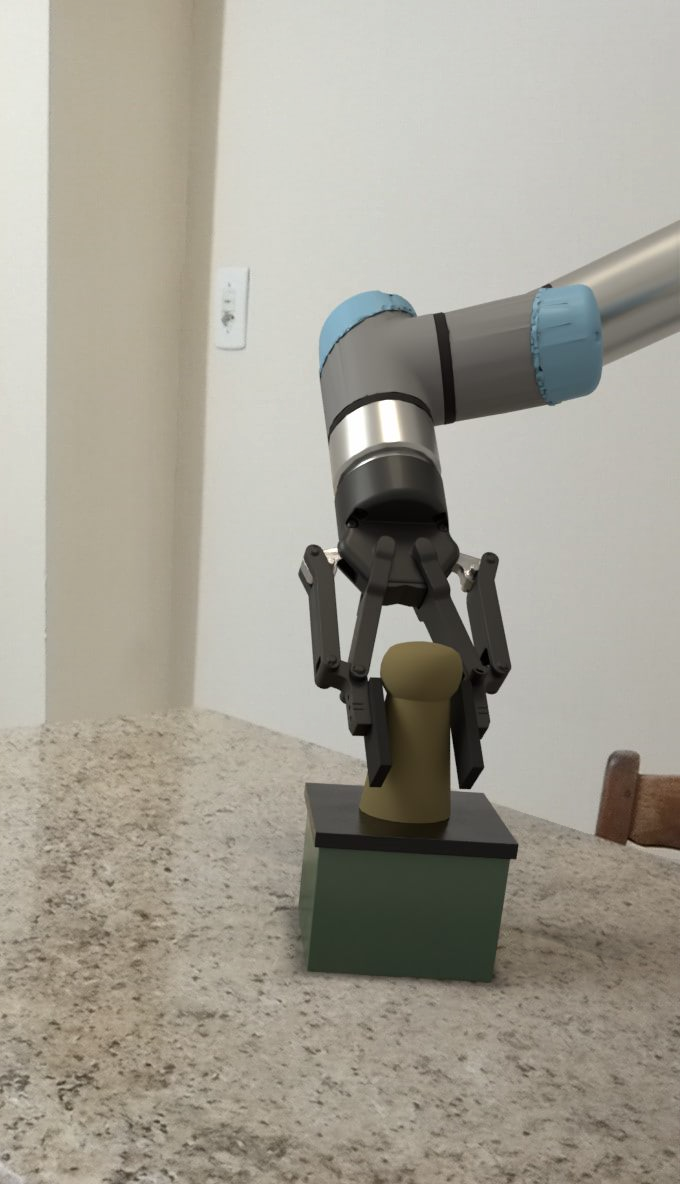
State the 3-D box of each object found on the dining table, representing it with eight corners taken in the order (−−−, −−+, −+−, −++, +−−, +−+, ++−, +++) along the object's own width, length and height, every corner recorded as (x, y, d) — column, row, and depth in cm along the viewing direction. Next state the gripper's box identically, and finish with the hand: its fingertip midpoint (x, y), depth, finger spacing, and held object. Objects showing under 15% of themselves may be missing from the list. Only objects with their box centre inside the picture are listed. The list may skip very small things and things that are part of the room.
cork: (419, 829, 88) (441, 654, 83) (341, 808, 91) (358, 641, 87) (467, 812, 92) (490, 645, 88) (391, 793, 95) (409, 632, 91)
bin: (465, 918, 101) (483, 792, 97) (497, 985, 89) (519, 844, 85) (293, 908, 101) (305, 782, 98) (302, 972, 89) (315, 832, 86)
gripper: (495, 530, 100) (543, 809, 91) (249, 519, 98) (273, 804, 89) (533, 455, 93) (588, 749, 84) (269, 442, 91) (296, 742, 82)
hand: (426, 776), depth 87 cm, fingers closed on cork, 5 cm apart
